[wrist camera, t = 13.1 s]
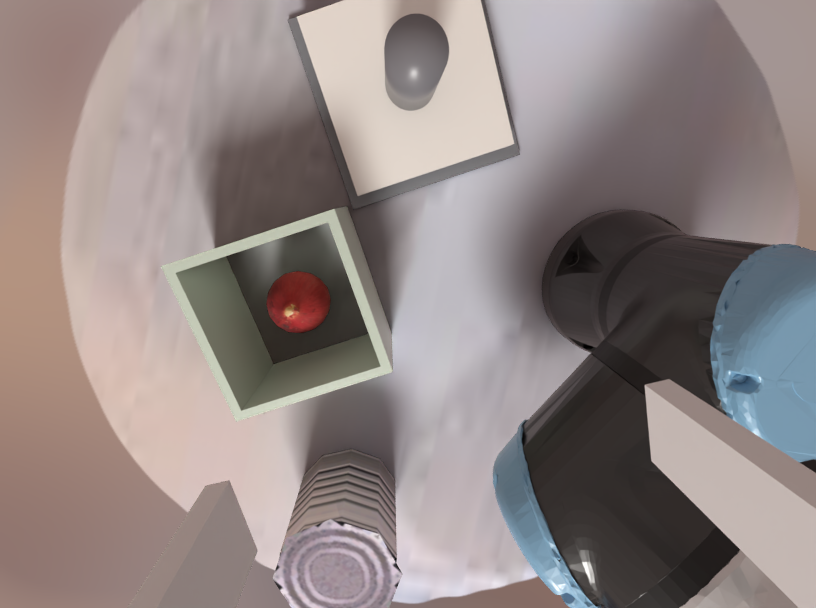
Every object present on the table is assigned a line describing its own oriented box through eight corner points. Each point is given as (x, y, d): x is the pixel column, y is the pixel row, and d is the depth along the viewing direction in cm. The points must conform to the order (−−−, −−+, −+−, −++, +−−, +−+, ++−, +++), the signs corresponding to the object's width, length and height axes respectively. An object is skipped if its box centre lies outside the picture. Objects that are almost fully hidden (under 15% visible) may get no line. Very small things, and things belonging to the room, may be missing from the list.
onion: (317, 329, 43) (302, 358, 36) (268, 302, 42) (241, 326, 35) (344, 284, 42) (335, 303, 35) (294, 255, 41) (273, 268, 34)
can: (334, 544, 50) (318, 647, 39) (281, 477, 48) (246, 567, 36) (414, 502, 49) (422, 595, 38) (364, 431, 47) (356, 508, 35)
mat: (472, -42, 36) (473, -46, 35) (518, 155, 40) (519, 154, 39) (288, 22, 36) (287, 19, 36) (353, 209, 40) (353, 209, 40)
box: (347, 206, 40) (334, 208, 31) (391, 333, 44) (392, 371, 34) (214, 250, 41) (160, 266, 31) (269, 372, 44) (236, 421, 35)
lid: (465, -29, 35) (495, -118, 25) (507, 146, 39) (547, 129, 29) (302, 28, 36) (269, -38, 26) (359, 196, 40) (349, 195, 30)
